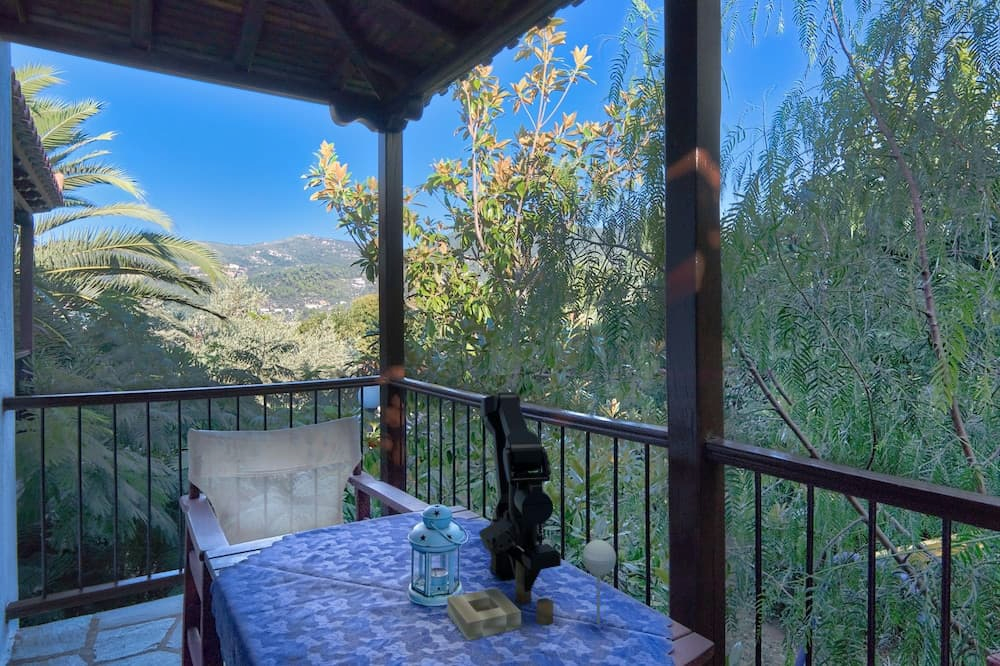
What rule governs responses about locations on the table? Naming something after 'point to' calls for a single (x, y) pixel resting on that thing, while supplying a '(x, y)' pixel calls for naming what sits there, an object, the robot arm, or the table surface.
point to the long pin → (521, 587)
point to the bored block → (483, 613)
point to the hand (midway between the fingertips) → (523, 587)
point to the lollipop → (599, 563)
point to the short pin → (544, 611)
